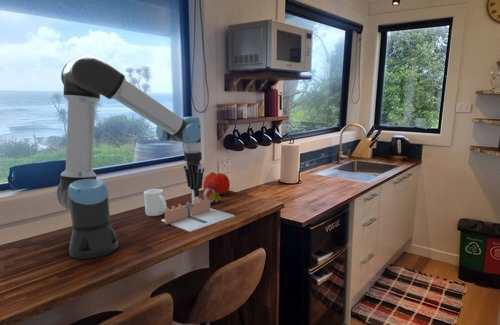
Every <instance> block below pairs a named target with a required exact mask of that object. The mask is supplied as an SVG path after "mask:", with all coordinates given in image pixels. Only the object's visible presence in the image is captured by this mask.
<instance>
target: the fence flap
mask: <svg viewBox="0 0 500 325" xmlns="http://www.w3.org/2000/svg"><path fill="white" fill-rule="evenodd" d="M210 208H211V203H210V199H207V197H204V196H203V200H202V198H199V202H196V200H193V203H192V202H191V203H190V211H191V215H192V216H193V215H197V214H200V213H203V212H206V211H209V210H210Z"/></svg>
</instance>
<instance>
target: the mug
mask: <svg viewBox="0 0 500 325" xmlns="http://www.w3.org/2000/svg"><path fill="white" fill-rule="evenodd" d="M143 201H144V211H145V212H144V213H145V214H146V216H148V217H157V216H161V215H164V214H165V212H164V211H166V208H167V200H166V199H165V197H164V189H161V188H151V189H150V188H149V189H147V190H144V191H143Z"/></svg>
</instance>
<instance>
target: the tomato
mask: <svg viewBox="0 0 500 325" xmlns="http://www.w3.org/2000/svg"><path fill="white" fill-rule="evenodd" d="M212 181H213V182H214V183H215V186H214V187H213V190H214V191H215V194H216V193H218V194H219V196H221V195H225V194H227V192H228V191H229V190H230V185H231V183H230V179H229V177H228V176H227V175H226V174H225V173H222V172H219V173H215V172H210V173H209V174H207V175H206V176H205V177H204V180H203V181H202V188H203V191H205V190H206V189H207V188H208V187H207V186H206V185H205V184H206V183H209V182H212Z"/></svg>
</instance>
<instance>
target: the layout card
mask: <svg viewBox="0 0 500 325" xmlns="http://www.w3.org/2000/svg"><path fill="white" fill-rule="evenodd" d="M190 212H191V210H190ZM235 217H236V215H235V214H232V213H228V212H226V211H222V210H218V209H214V208H211V207H210V210H209V211H206V212H203V213H200V214H197V215H193V216H192V215H191V217H187V218H185V219H182V220H179V221H175V222H172V223H169V224H168V225H171V226H173V227H176V228H178V229H181V230H184V231H186V232H189V233H192V232H195V231H198V230H200V229H204V228H206V227H209V226H212V225H214V224H218V223H221V222H224V221H226V220H229V219H232V218H235ZM160 221H161V222H163V223H165V218H162V219H160Z"/></svg>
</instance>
